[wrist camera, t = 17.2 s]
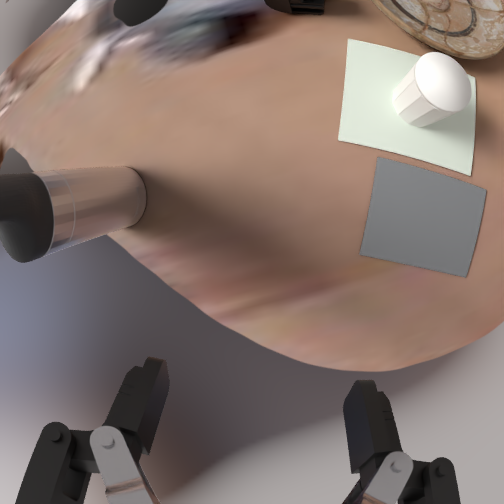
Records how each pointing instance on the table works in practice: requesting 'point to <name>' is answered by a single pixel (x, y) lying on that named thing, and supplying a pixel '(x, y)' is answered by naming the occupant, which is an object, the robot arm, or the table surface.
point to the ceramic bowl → (451, 24)
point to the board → (386, 119)
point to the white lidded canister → (432, 90)
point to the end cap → (297, 6)
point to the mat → (422, 218)
